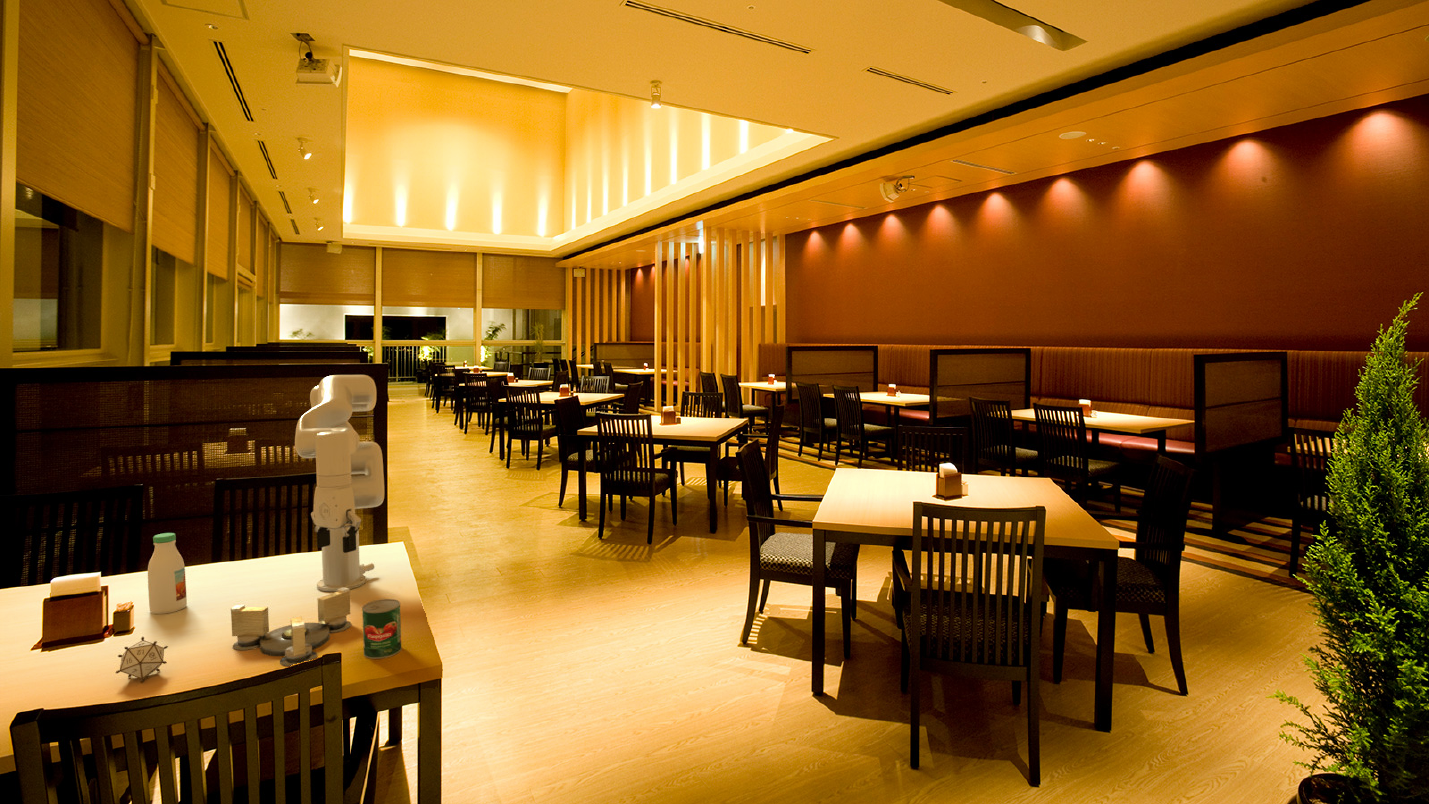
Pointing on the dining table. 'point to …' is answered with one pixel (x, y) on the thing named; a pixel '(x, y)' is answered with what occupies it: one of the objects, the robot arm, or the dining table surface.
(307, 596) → the dining table surface
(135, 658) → the game die
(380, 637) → the canned tomato
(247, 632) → the knob
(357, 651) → the dining table surface
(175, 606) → the milk bottle
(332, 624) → the knob near
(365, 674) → the dining table surface
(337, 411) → the robot arm
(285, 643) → the plate
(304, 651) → the knob
